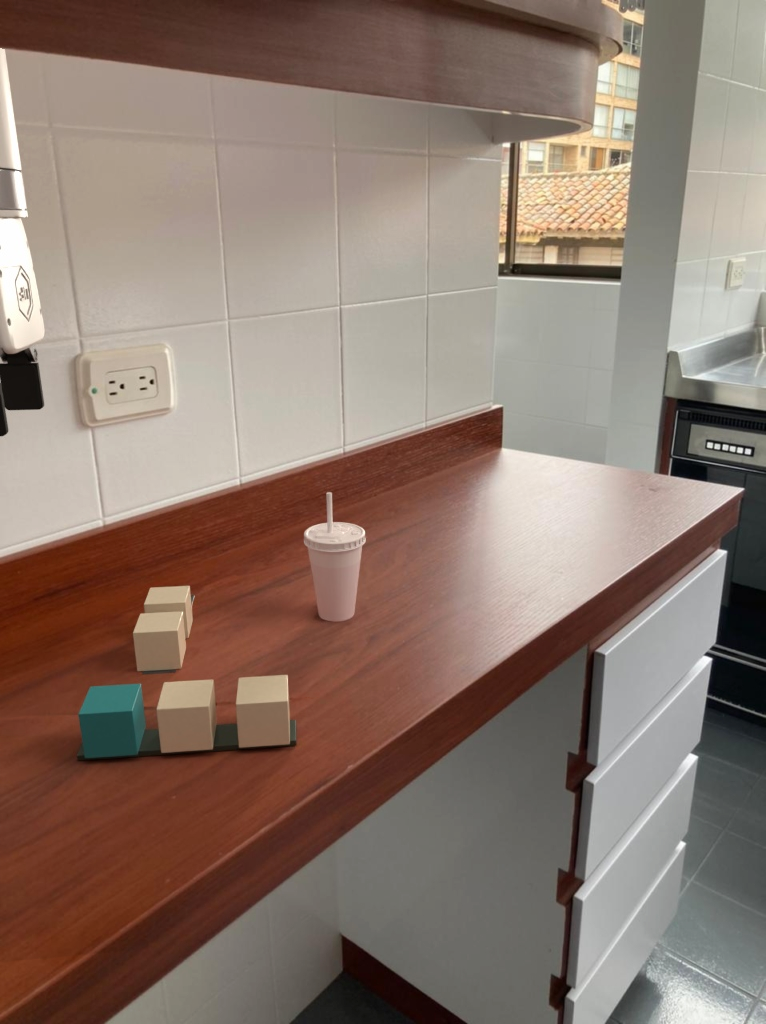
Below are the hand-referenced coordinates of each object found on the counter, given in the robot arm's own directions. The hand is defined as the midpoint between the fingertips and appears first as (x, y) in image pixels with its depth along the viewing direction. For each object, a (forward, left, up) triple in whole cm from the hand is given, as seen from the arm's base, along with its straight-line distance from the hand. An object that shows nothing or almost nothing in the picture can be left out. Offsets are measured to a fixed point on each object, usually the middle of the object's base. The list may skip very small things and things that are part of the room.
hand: (7, 421), depth 67 cm
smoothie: (+27, +10, -24) cm, 38 cm away
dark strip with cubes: (+14, -11, -24) cm, 30 cm away
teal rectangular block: (+8, -11, -24) cm, 27 cm away
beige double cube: (+10, +8, -24) cm, 27 cm away
